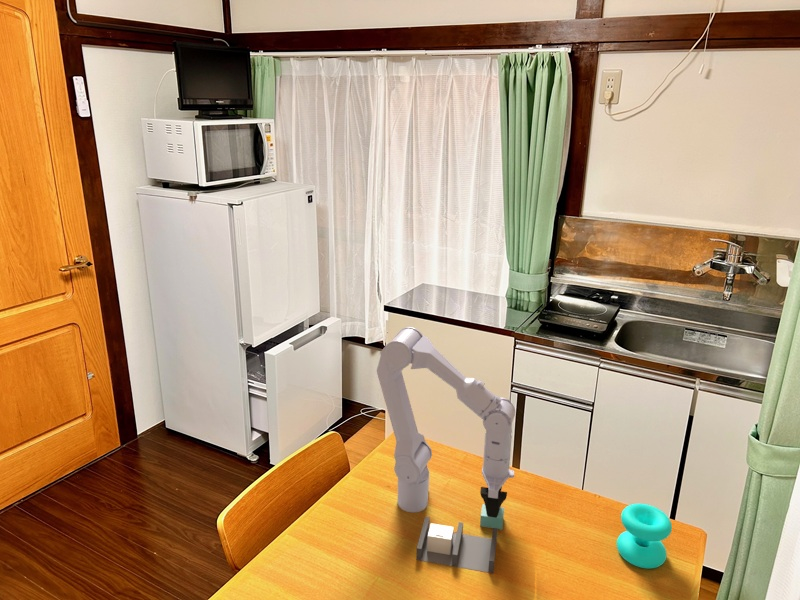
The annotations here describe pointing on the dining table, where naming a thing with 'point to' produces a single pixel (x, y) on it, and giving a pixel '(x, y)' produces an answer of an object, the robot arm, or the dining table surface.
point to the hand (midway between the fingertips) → (493, 505)
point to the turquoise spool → (644, 535)
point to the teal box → (491, 519)
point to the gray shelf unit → (461, 550)
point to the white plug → (440, 539)
